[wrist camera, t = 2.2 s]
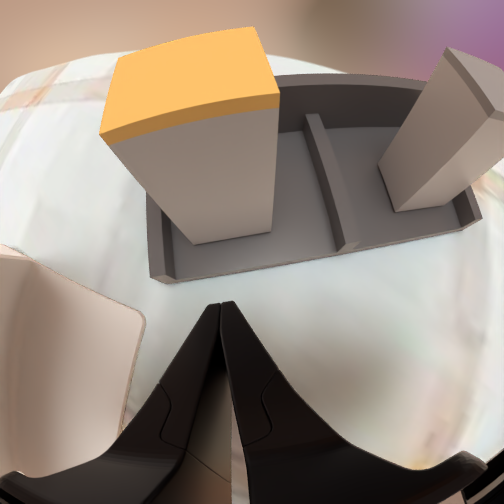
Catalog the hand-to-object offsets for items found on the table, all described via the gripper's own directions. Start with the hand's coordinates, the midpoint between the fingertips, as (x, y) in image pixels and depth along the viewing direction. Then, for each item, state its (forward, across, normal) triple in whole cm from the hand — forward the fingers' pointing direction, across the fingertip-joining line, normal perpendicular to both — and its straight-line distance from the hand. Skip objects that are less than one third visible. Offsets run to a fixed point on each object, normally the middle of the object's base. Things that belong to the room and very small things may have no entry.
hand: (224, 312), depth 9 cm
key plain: (+10, -14, +1) cm, 17 cm away
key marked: (+10, 0, +1) cm, 10 cm away
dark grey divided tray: (+12, -7, +1) cm, 14 cm away
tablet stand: (+2, +20, +11) cm, 23 cm away
